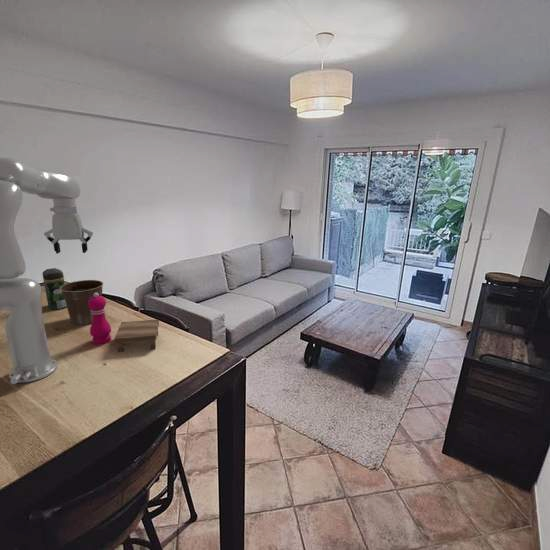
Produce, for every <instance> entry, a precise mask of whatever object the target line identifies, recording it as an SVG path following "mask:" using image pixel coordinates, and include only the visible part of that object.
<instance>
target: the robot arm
mask: <svg viewBox="0 0 550 550" xmlns="http://www.w3.org/2000/svg"><path fill="white" fill-rule="evenodd" d="M23 193H26V194H30V195H37V196H38V197H40V198H42V199H46V200H47V199H48V200H52V202H53V203H52V204H53V206H52V207H50V209H49V210H50V212H54V213H53V214H52V215H51V217H52V218H51V226H52V228H51V229H50V230H47V231H45V232H44V233H43V235H44V236H45V237H46V240H48V241H49V242H50V243H51V244H52V245H53V249H54V252H55V254H60V253H61V245H60V242H59V241H60V240H63V241H65V240H69V241H70V240H71V241H72V240H79V241H80V242H81V251H82V253H83V254H85V253H87V251H88V250H89V249H88V243H89V241H90V240H91V239H92V237H93V234H94V233H93V232H92V231H90V230H88V229H86V228H84V227H83V222H82V219H81V216H80V214H79V213H78V209H77V203H76V199H78V198H79V197H80V194H81V187H80V184H79V183H78V182H77V180H76V179H74V178H73V177H70V176H69V175H66V174H62V173H58V172H54V171H53V172H52V171H48V170H45V169H41V168H36V167H33V166H31V165H28V164H26V163H24V162H23V161H22V162H21V161H19V160H17V159H14V158H10V157H0V311H9V312H10V314H9V316H8V317H7V318H6V320H5V322H4V331H5V335H6V339H7V344H8V349H9V352H10V353H9V354H10V357H11V361H12V362H11V363H12V366H13V368H12V369H11V371H9V374H8V378H9V381H10V384H12V385H16V384H17V383H19V384H20V383H21V384H22V383H24V384H25V383H30V382H36V381H39V380H41V379H43V378H46V377H47V376H50V375H51V374H53V373H54V372H55V371H56V370H57V368H58V363H57V360H55V359H54V358H51V355H50V349H49V344H48V338H47V333H46V329H45V328H46V327H45V323H44V317H43V307H42V306H43V305H42V299H43V298H42V297H43V290H42V289H43V288H42V286H41V284H40V283H39V282H38V281H36V280H34V279H32V278H25V277H21V276H23V274H24V273H25V272H26V268H27V267H26V262H25V259H24V256H23V253H22V250H21V248H20V245H19V242H18V239H17V237H16V233H15V222H16V218H17V216H18V213H19V211H20V208H21V207H22V206H21V205H22V203H23ZM51 234H52V236H51ZM85 234H87V236H86V237H84V236H85Z"/></svg>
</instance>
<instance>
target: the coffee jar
mask: <svg viewBox="0 0 550 550" xmlns="http://www.w3.org/2000/svg"><path fill="white" fill-rule="evenodd" d="M42 279H43V286H44V290H45V296H46V302H47V306H48V307H49V309H50V310H62V309H64V308H67V305H66V302H65V298H64V297H63V294H62V291H61V290H60V287H61V286H62V285H64V284H66V283H65V276H64V272H63V271H62V270H61V269H58V268H55V267H54V268H47V269H45V270H44V271H42Z"/></svg>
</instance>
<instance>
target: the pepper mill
mask: <svg viewBox="0 0 550 550" xmlns="http://www.w3.org/2000/svg"><path fill="white" fill-rule="evenodd" d="M93 296H94V297H92V298H90V299H89V301H88V306H89V308H91V310H90V311H91V314H92V315H93V322H92V323H91V325H90V328H89V329H90V330H89V334H90V336H92V343H93V344H94V345H98V346H99V345H104V344H105V345H106V344H107V343H109V342H111V341H112V336H111V332H112V326H111V325H110V323H109V321H108V320H107V317H106V314H105V313H106V311H107V310H106V305H107V299H106V298H105V296H99V294H98V293H94V294H93Z"/></svg>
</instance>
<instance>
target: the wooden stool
mask: <svg viewBox="0 0 550 550" xmlns="http://www.w3.org/2000/svg"><path fill="white" fill-rule="evenodd" d="M159 321H160V320H159V319H151V320H150V319H148V320H135V321H134V320H133V321H121V323H120V325H119V327H118V330H117V332H116V333H115V336H114V339H113V341H114V344H116V350H117V353H125V344H126V343H137V342H148V344H149V345H148V346H149V350H150V351H151V350H152V351H153V350H156V349H155V348H157V345H156V343H157V342H156V340H157V337H158V336H159V326H160V322H159ZM157 335H158V336H157Z"/></svg>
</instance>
